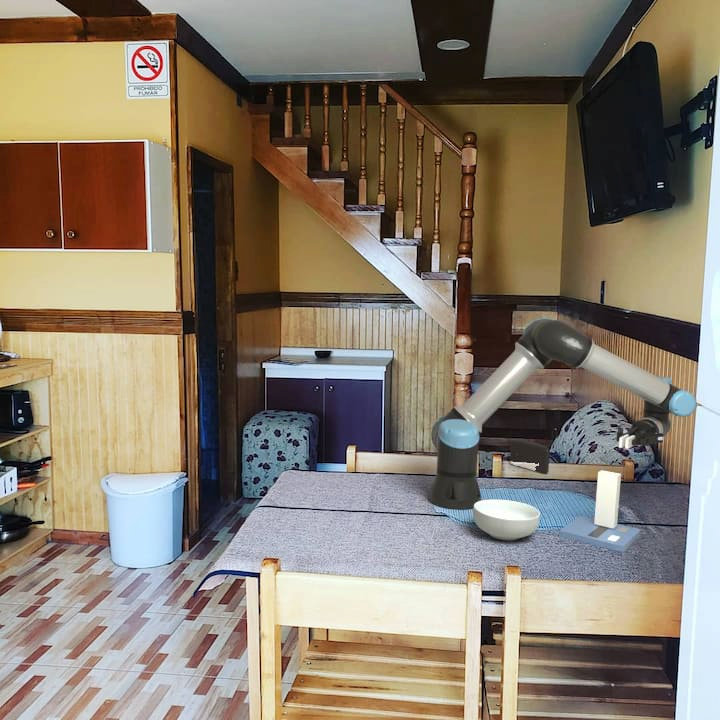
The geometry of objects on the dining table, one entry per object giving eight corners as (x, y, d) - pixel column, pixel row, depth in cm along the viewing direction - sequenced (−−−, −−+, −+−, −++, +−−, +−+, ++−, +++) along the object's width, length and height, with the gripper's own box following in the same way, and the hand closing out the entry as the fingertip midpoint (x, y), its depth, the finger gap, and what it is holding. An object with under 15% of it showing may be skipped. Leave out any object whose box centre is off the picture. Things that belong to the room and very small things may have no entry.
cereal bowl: (548, 547, 167) (550, 519, 166) (481, 547, 165) (483, 519, 165) (525, 524, 184) (527, 498, 183) (465, 523, 182) (466, 497, 182)
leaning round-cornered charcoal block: (553, 473, 238) (555, 447, 237) (546, 475, 235) (547, 448, 234) (516, 463, 250) (517, 438, 249) (508, 465, 247) (509, 439, 246)
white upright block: (597, 521, 182) (601, 470, 181) (617, 525, 179) (621, 473, 178) (594, 524, 180) (598, 472, 179) (613, 528, 177) (617, 476, 176)
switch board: (580, 520, 188) (580, 515, 188) (640, 535, 178) (641, 529, 178) (558, 536, 175) (559, 530, 175) (622, 552, 166) (623, 546, 165)
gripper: (670, 447, 201) (649, 461, 182) (621, 439, 210) (596, 452, 191) (672, 422, 201) (651, 433, 182) (623, 415, 209) (598, 426, 190)
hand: (623, 443), depth 186 cm, fingers closed
